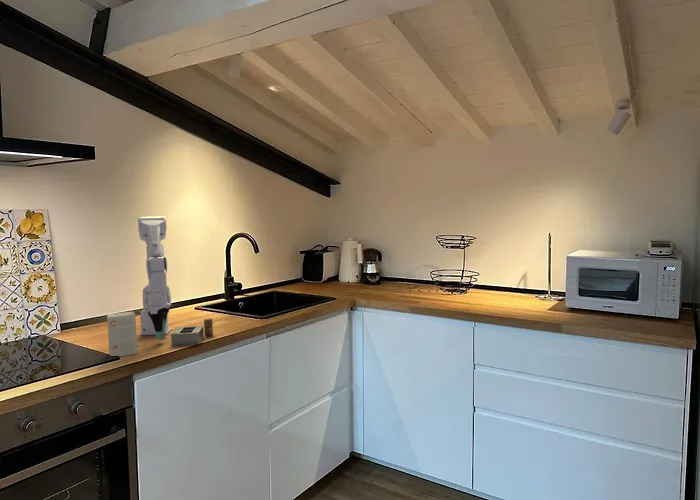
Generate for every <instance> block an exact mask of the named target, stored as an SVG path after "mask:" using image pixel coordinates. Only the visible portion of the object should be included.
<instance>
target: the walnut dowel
mask: <svg viewBox="0 0 700 500" xmlns="http://www.w3.org/2000/svg"><path fill="white" fill-rule="evenodd" d="M213 328H214V326H213V318H210V317H209V318H204V319H203V332H204V337H213V336H214V329H213Z"/></svg>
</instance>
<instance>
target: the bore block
mask: <svg viewBox="0 0 700 500" xmlns="http://www.w3.org/2000/svg"><path fill="white" fill-rule="evenodd" d="M204 337H205V333H204V325H202V326H198V325H197V326H180V327H179V326H178V327H176V329H174V330H173V331H172V332H171V334H170V339H171V346H172V347H174V346H191V345H192V346H193V345H200V343H201V342H202V341H203V339H204Z"/></svg>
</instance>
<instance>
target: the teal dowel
mask: <svg viewBox="0 0 700 500" xmlns="http://www.w3.org/2000/svg"><path fill="white" fill-rule="evenodd" d="M155 340H157V341H162V340H166V334H165V324H164V321H163V330H162V332H156V334H155Z"/></svg>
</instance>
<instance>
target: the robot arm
mask: <svg viewBox="0 0 700 500" xmlns="http://www.w3.org/2000/svg"><path fill="white" fill-rule="evenodd" d="M137 225H138V233H139V234H138V235H139V238H140V240H141V241H143V242H145V244H146V245H145V246H146V247H145V248H146V249H145V250H146V260H145V266H146V273H147V279H148V284H147V285H145V286H144V287H143V289H142V308H143V310H141V312H140V316H139V317H140V319H139V320H140V336H152V335H155V336H156V332H162V330H163V321H164V324H165V335H167V334H168V333H169V332H170V331H171V330H172V327H169V318H168V317H169V312H170V310H171V308H170V307H171V306H172V299H171V297H172V295H171V290H170V287H169V285H167V284H168V283H167V273H168V260H167V257H166V254H165V249H164V248H165V247H164V244H163V243H161V241H163V240H165V239H166V236H167V218H166V217H165V215H162V216H142V217H141V216H138V217H137Z"/></svg>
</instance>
